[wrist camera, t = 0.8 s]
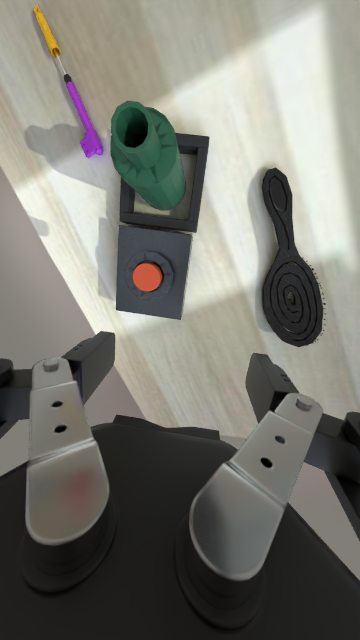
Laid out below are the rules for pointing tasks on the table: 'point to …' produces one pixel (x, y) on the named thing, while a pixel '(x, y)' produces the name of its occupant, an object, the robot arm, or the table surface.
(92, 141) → the purple yellow slender tool
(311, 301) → the hairbrush
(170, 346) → the table surface
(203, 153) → the dock
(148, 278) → the button
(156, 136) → the vase
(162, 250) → the panel with orange knob
